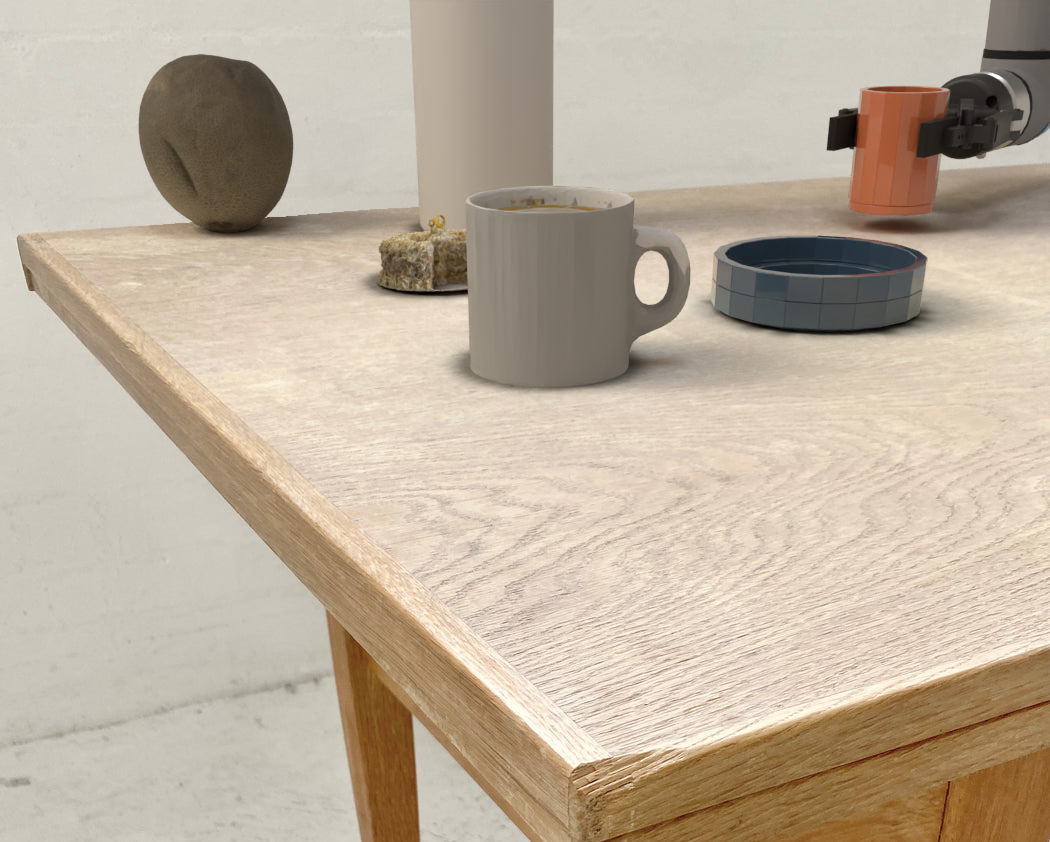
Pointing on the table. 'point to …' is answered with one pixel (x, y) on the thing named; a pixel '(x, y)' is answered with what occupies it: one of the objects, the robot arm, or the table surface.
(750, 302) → the bowl
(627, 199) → the coffee mug
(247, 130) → the brown rounded stone
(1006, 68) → the robot arm
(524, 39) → the cylinder vase
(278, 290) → the table surface
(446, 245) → the cake
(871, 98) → the tumbler
